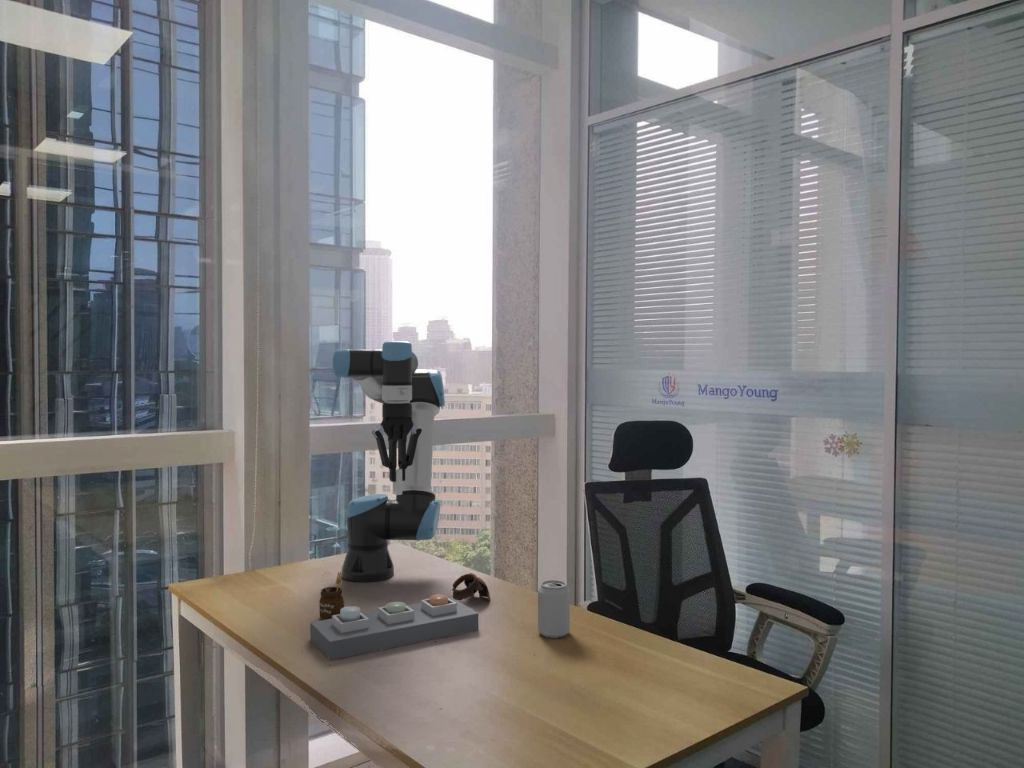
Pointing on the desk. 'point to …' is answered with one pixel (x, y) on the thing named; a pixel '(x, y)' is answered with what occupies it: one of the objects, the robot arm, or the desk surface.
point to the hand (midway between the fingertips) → (397, 493)
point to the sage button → (395, 607)
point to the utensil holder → (331, 600)
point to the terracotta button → (438, 600)
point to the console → (391, 628)
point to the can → (553, 608)
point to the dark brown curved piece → (470, 587)
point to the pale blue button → (350, 613)
